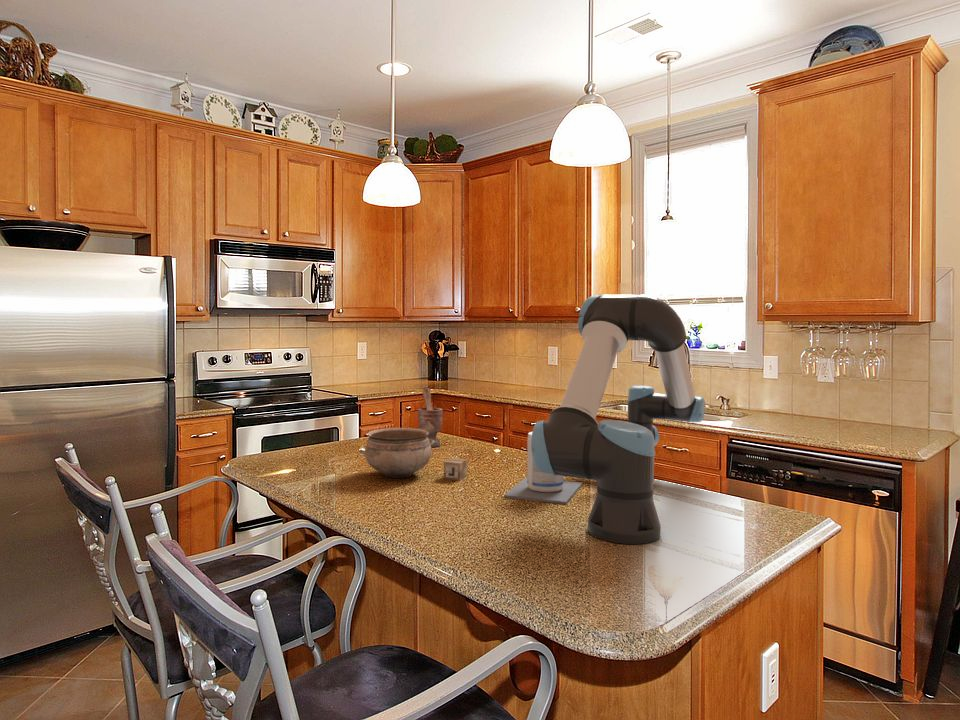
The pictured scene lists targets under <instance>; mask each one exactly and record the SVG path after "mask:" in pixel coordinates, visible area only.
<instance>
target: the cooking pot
mask: <svg viewBox="0 0 960 720" xmlns="http://www.w3.org/2000/svg"><path fill="white" fill-rule="evenodd" d="M366 434H367V436H368V440H367V441H366V446H365V449H364V450H363V449H359V451H358V452H359V453H360V454H363V455H364V457H365V460H366V462H367V464H368V465H369V466H370V467H371V468H372V469H374V470H375V471H376V472H378V473H381V474H383V475H384V476H386V477H387V478H389V479H390V478H391V479H404V478H409V477H411V476H412V475H413V474H416V473H417V472H419V471H420V470H422V469H423V468H424V467H426V465H428V463H429V461H430V459H431V458H432V454H433V453H432V447H431V446H433V444H434V443H435V442H434V440H428V437H427V436H428V435H429V432H428V431H425V430H421V429H420V428H411V427H390V428H389V427H386V428H380V429H379V428H378V429H372V430H370V431H368V432H367V433H366Z"/></svg>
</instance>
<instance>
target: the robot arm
mask: <svg viewBox="0 0 960 720" xmlns="http://www.w3.org/2000/svg"><path fill="white" fill-rule="evenodd" d="M577 322H578V323H577V325H578V326H577V327H578V331H579V334H580V336H581V338H582V340H583V344H582V347H581V350H580V353H579V354H578V358H577V361H576V363H575V365H574V369H573V371H572V373H571V377H570V380H569V381H568V384H567V387H566V390H565V393H564V395H563V398H562V400H561V403H560V406H557V407H554V408H553V409H552V410H551V412H550V414H549V415H548V419H547V420H545V419H542V420H538V421H537V422H536V423H535V424H534V426H533V428H532V431H531V432H532V438H531V449H532V457H533V461H534V464H535V466H536V467H537V469H538V470H539V471H541V472H543V473H549V474H553V475H554V476H557V475H561V476H564V477H568V478H576V479H582V480H592V481H596V484H597V485H596V486H597V487H596V496H595V499H594V503H593V504H592V508H591V510H590V514H589V515H588V519H587V531H588V533H589V534H590V535H591V536H593V537H595V538H598V539H600V540H602V541H606V542H611V543H616V544H617V543H618V544H626V545H640V544H641V545H642V544H648V543H652V542H656V541H658V540H659V539H660V537H661V532H662V531H661V523H660V522H661V521H660V519H659V516H658V511H657V508H656V506H655V505H656V504H655V502H654V481H655V480H654V475H655V473H654V472H655V456H656V450H655V446H657V444H658V443H659V440H660V433H659V430H658V429H657V427H656V426H655V425H654V419H655V420H664V421H676V422H687V423H700V422H702V421H703V420H704V418H705V412H706V400H705V399H704V398H703V397H702V396H698V395H695V392H694V386H693V382H692V377H691V373H690V368H689V363H688V359H687V353H686V350H685V345H684V344H685V343H686V340H687V333H686V332H687V331H686V328H685V325H684V323H683V320H682V319H681V317H680V315H678V313H677V312H676V311H675V309H674V308H672V307H671V306H670V305H669V304H668V303H667V302H665V301H664V300H662V299H660V298H659V297H657V296H654V295H650V294H605V293H604V294H603V293H602V294H599V295H591V296H589V297H588V298H587V299H585V300H584V302H583V303H582V305H581V307H580V310H579V317H578V321H577ZM628 341H637V342H638V341H645V342H647V343H648V346H649V347H650V348H651V349H652V350H653V351H654V354H655V357H656V362H657V365H658V368H659V372H660V376H661V380H662V383H663V388H664V391H665V393H658V392H657V393H656V392H655V388H654V387H653V386H649V385H648V386H647V385H633V386H632V385H631V386H630V387H629V389H628V394H627V421H625V420H619V419H618V420H614V419H603V420H601V421H599V422H598V421H597V420H596V418H597V416H598V412H599V409H600V406H601V402H602V400H603V397H604V394H605V390H606V388H607V385H608V383H609V378H610V376H611V372H612V370H613V366H614V363H615V360H616V357H617V354H618V353H621V352H622V351H624V349H625V348H626V347H627V344H628Z"/></svg>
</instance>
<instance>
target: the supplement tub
mask: <svg viewBox="0 0 960 720" xmlns="http://www.w3.org/2000/svg"><path fill="white" fill-rule="evenodd" d="M532 432H533V431H530V432H528V433H527V443H526V444H527V445H526V446H527V448H526V449H527V450H526V451H527V456H526V458H527V459H526V461H527V462H526V463H527V464H526V467H527V470H526V475H527V476H526V477H527V486H528V488H529V489H531V490H533V491H538V492H556V491H559V490H561V489H562V488H563V483H564V481H565V480H564V477H565V476H561V475H557V476H554V475H553V474H549V473H543V472H541V471H539V470H538V469H537V467H536V466H535V464H534V461H533V457H532V449H531V438H532Z"/></svg>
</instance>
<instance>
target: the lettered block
mask: <svg viewBox="0 0 960 720" xmlns="http://www.w3.org/2000/svg"><path fill="white" fill-rule="evenodd" d="M467 476H468V459H465V458H454V457H449V458H448V459H446V460H444V461H443V479H444V480H450V481H452V480H453V481H462V480H464V479H466V478H467Z"/></svg>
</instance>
